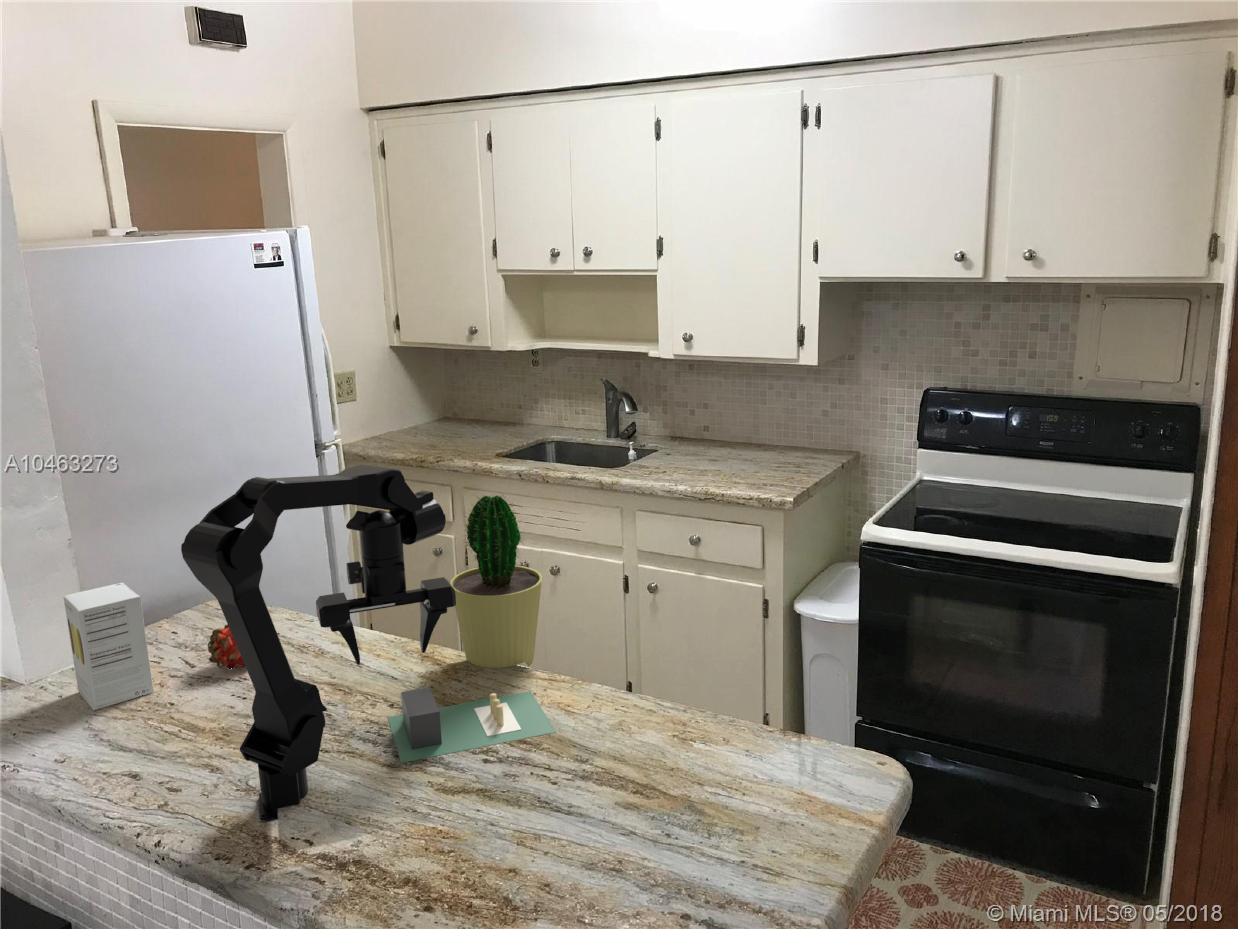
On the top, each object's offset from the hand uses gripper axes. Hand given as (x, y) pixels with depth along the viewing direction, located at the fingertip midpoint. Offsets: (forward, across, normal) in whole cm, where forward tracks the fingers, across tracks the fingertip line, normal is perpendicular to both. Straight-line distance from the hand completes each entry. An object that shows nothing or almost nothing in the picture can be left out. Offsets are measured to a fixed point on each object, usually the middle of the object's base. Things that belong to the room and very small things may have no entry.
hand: (391, 657), depth 140 cm
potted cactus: (+13, -21, -19) cm, 31 cm away
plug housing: (+11, -3, +2) cm, 11 cm away
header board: (+12, -10, +4) cm, 16 cm away
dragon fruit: (+13, +20, -38) cm, 44 cm away
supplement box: (+13, +39, -34) cm, 54 cm away
